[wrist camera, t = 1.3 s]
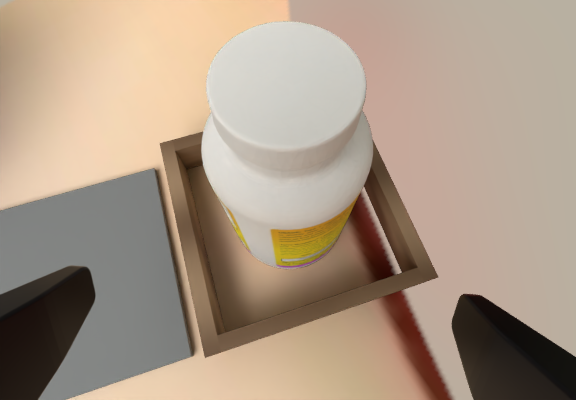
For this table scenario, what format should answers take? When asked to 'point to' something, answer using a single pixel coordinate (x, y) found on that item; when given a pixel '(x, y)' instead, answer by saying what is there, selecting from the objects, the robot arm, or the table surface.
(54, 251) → the mat
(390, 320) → the table surface
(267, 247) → the supplement bottle
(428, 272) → the square frame
